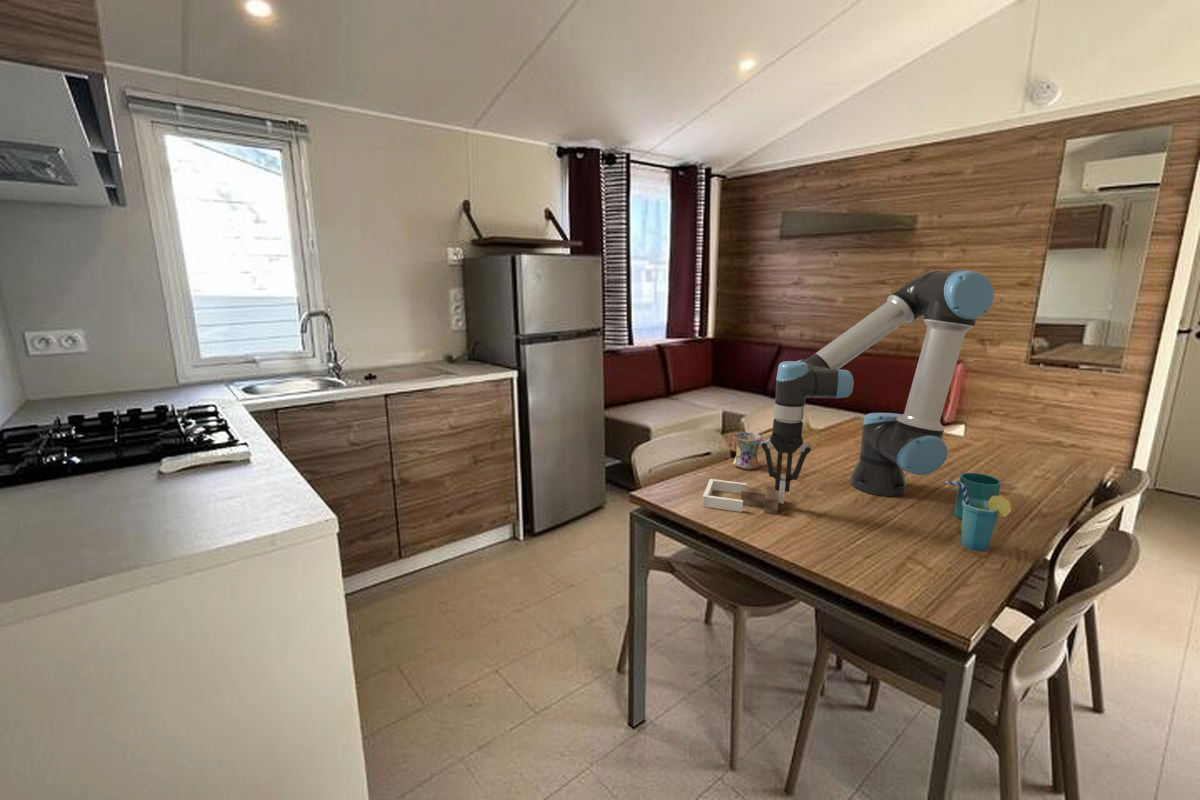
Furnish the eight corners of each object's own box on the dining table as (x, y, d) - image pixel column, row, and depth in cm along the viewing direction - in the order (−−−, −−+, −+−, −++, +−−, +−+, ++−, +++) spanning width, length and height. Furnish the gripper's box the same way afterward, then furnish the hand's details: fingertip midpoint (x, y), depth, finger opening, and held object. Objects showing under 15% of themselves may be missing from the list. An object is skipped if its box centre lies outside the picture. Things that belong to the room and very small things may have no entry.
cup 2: (932, 540, 133) (941, 482, 130) (940, 530, 139) (949, 474, 135) (1002, 561, 124) (1014, 499, 120) (1007, 548, 129) (1019, 489, 126)
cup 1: (999, 514, 148) (1006, 475, 145) (990, 529, 139) (998, 487, 137) (960, 505, 154) (966, 467, 151) (950, 518, 146) (956, 478, 143)
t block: (778, 500, 156) (779, 486, 155) (777, 514, 147) (778, 500, 146) (742, 495, 159) (743, 482, 159) (739, 508, 150) (740, 495, 149)
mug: (764, 471, 179) (766, 440, 177) (736, 471, 179) (738, 440, 176) (752, 459, 191) (754, 430, 189) (726, 459, 191) (727, 430, 188)
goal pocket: (746, 492, 161) (746, 483, 161) (741, 512, 148) (742, 501, 147) (709, 488, 165) (710, 478, 164) (702, 506, 152) (702, 496, 151)
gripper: (813, 418, 147) (805, 499, 152) (763, 414, 151) (757, 493, 157) (814, 425, 140) (806, 510, 146) (762, 420, 144) (755, 503, 150)
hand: (780, 501), depth 151 cm, fingers closed
